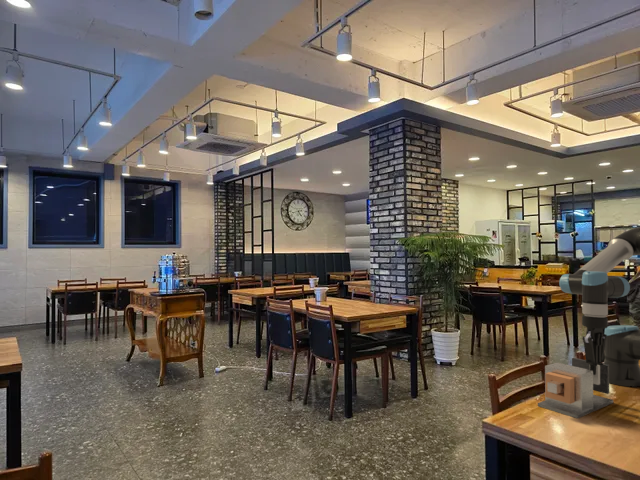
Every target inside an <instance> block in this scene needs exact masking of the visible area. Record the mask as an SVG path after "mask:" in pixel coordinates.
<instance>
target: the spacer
mask: <svg viewBox="0 0 640 480" xmlns="http://www.w3.org/2000/svg"><path fill="white" fill-rule="evenodd" d="M550 381H557V382H561V383H564V394H563V393H558V394H555V393H552V392H548V386H547V382H550ZM546 397H548V398H551V399H555V400H558V401H562V402H565V403H568V404H571V403H574V402H575V384H574V378H573V377H569V376H565V375H560V374H556V373H552V372H549V373H546Z"/></svg>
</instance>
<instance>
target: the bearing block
mask: <svg viewBox="0 0 640 480" xmlns="http://www.w3.org/2000/svg"><path fill="white" fill-rule="evenodd" d="M549 372H552V373H556V374H560V375H565V376H569V377H573V378H574V384H575V402H574V403H571V404H568V403H565V402H562V401H558V400H555V399H551V398H548V397H546V373H549ZM544 373H545V374H544V384H545V385H544V387H545V389H544V390H545V391H544V392H545V393H544V397H545V398H544V400H542V401H540V402H537V407H540V408H543V409H546V410H549V411H552V412H555V413H559V414H561V415H565V416H568V417H571V418H575V419H580V418H583V417H584V416H587V415H588V414H589V415H590V414H591V413H593V412H595V411H598V410H600V409H603V408H604V407H607V406H609V405H612V404H614V399H611V398H607V397H604V396H599V395H595V394H594V390H593V370H588V369H584V368H579V367H575V366H572V365H569V364H564V363H560V362H555V363H551V364H547V365H544ZM561 393H563V394H564V391H563V392H561Z"/></svg>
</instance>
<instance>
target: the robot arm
mask: <svg viewBox="0 0 640 480" xmlns="http://www.w3.org/2000/svg"><path fill="white" fill-rule="evenodd" d="M633 256H634V257H635V256H640V226H637V227H635V228H630V229H629V230H626V231H624V232H622V233H620V234H618V235H617V236H616V237H614V238H612V239H611V240H610V241H609V242H608V243H607V247H605V248H604V249H603V250H601V251H600V252H599V253H598V254H596V255H595V256H594V257H593V258H591V259H590V260H589V261H588V262H587V263H585V264H584V265H583V266H582V267H580V268H579V269H578V270H577V271H575V272H574V273H573V274H572V273H566V274H565V273H564V274H562V275H561V277H560V278H559V284H558V285H559V288H560V290H561V291H562V292H563V293H567V294H571V295H581V296H582V297H581V300H582V301H581V305H580V306H581V309H582V310H581V313H582V314H583V315H582V316H581V324H582V326H583V327H585V328H586V331H585V334H586V335H585V336H582V337H581V338H582V343H583V348H584V354H585V355H584V357H585V360H586V363H587V364H590V370H593V384H596V385H599V384H600V365H603V364H606V365H609V384H613V385H616V386H622V387H630V386H632V387H633V388H638V387H637V386H640V329H639V326H638V325H628V324H626V325H625V324H624V325H620V324H619V325H609V323H608V322H609V320H608V317H607V316H608V315H609V309H608V308H609V307H608V305H609V304H608V302H609V301H608V298H609V299H610V298H611V299H612V298H614V299H615V298H616V299H619V298H622V297H625V296H627V295H628V294H629V293H630V290H631V285H630V283H629V281H628V280H627V279H626V278H624V277H622V276H616V275H615V276H608V273H610V272H611V271H612V270H614V268H615V267H617V266H618V265H619V264H620V263H621V262H623V261H624V260H629V259H630V258H632V257H633ZM608 325H609V326H608Z"/></svg>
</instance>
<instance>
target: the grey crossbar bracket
mask: <svg viewBox="0 0 640 480" xmlns="http://www.w3.org/2000/svg"><path fill="white" fill-rule="evenodd" d="M571 366H575V367H579V368H584V369H588V370H590V364H587V363H586V359H581V358H577V357H572V358H571ZM547 386H548V392H552V393H555V394H558V393H561V392H563V391H564V383H561V382H557V381H550V382H547ZM594 391H595V392H598V393H602V394H607V395H609V394H610V383H609V365H606V364H603V365H600V384H599V385H596V384H593V392H594Z"/></svg>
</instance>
